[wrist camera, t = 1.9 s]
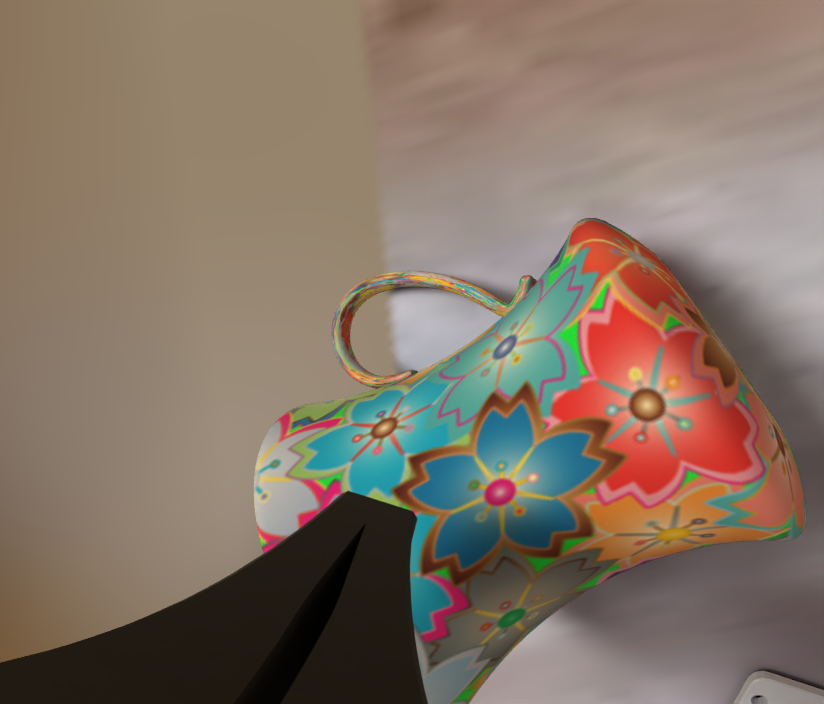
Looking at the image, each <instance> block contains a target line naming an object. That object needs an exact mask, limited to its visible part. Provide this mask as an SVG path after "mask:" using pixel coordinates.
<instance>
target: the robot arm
mask: <svg viewBox="0 0 824 704" xmlns="http://www.w3.org/2000/svg"><path fill="white" fill-rule="evenodd" d="M417 519H418V518H417V517H416V515H415V513H414V512H413V511H411V510H408V509H405V508H401V507H398V506H395V505H392V504H389V503H386V502H383V501H379V500H376V499H373V498H370V497H367V496H364V495H361V494H357V493H354V492H351V491H347V492H344V493H342V494H341V495H340V496H338V497H337V498H336V499H335V500H334V501H333V502H332V503H330V504H329V505H328V506H327V507H326V508H325V509H323V510H322V511H321V512H320V513H319V514H317V515H316V516H315V517H314V518H312V519H311V520H310V521H308V522H307V523H306V524H305V525H303V526H302V527H301V528H299V529H298V530H297V531H295V532H294V533H292V534H291V535H290V536H288V537H287V538H286V539H284V540H283V541H281V542H280V543H279V544H277V545H276V546H274V547H273V548H272V549H270V550H269V551H267V552H266V553H264V554H263V555H261V556H260V557H258V558H256V559H255V560H253V561H251V562H250V563H248V564H247V565H245V566H244V567H242V568H240V569H239V570H237V571H236V572H234V573H233V574H231V575H229V576H227V577H225V578H224V579H222V580H220V581H219V582H217V583H215V584H213V585H211V586H209V587H208V588H206V589H204V590H202V591H200V592H198V593H196V594H194V595H192V596H190V597H188V598H186V599H184V600H182V601H180V602H178V603H176V604H173V605H171V606H169V607H167V608H164V609H162V610H161V611H158V612H156V613H153V614H151V615H149V616H147V617H144V618H142V619H140V620H137V621H135V622H132V623H130V624H127V625H125V626H122V627H119V628H116V629H114V630H111V631H108V632H105V633H102V634H99V635H97V636H94V637H91V638H88V639H85V640H81V641H78V642H75V643H72V644H69V645H66V646H62V647H59V648H55V649H52V650H49V651H45V652H41V653H37V654H33V655H29V656H25V657H21V658H17V659H13V660H9V661H5V662H2V663H0V704H428V701H427V697H426V693H425V689H424V684H423V680H422V675H421V670H420V665H419V659H418V653H417V647H416V640H415V632H414V624H413V615H412V604H411V582H410V559H411V545H412V539H413V535H414V531H415V527H416V523H417ZM756 695H761V696H762V697H759V698H755V697H753V696H756ZM733 704H824V690H822V689H819V688H816V687H813V686H810V685H807V684H803V683H800V682H797V681H794V680H791V679H788V678H785V677H782V676H779V675H776V674H773V673H770V672H766V671H758V672H754V673H752V674H751V675H750V676H749V677H748V678H747V680H746V682H745V683H744V685H743V687H742V689H741V691H740V692H739V694H738V696H737V698H736V699H735V701H734V703H733Z"/></svg>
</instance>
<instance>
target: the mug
mask: <svg viewBox="0 0 824 704" xmlns="http://www.w3.org/2000/svg"><path fill="white" fill-rule="evenodd" d="M412 286H416V287H431V288H437V289H443V290H447V291H450V292H453V293H456V294H459V295H462V296H464V297H466V298H468V299H470V300H472V301H474V302H476V303H478V304H480V305H482V306H483V307H485V308H487V309H489V310H490V311H492V312H494V313H496V314H498V315H500V316H502V318H501V319H500V320H499V321H498V322H496V323H495V324H494V325H493V326H492V327H490V328H489V329H488V330H487V331H485V332H484V333H483V334H481V335H480V336H479V337H477V338H476V339H475V340H473V341H472V342H470V343H469V344H467V345H466V346H464V347H463V348H461V349H460V350H458V351H457V352H455V353H453V354H452V355H450V356H448V357H447V358H445V359H443V360H441V361H440V362H438V363H436V364H434V365H432V366H430V367H428V368H426V369H424V370H422V371H420V372H418V371H415V370H410V371H406V372H404V373H402V374H397V375H391V376H378V375H374V374H372V373H370V372H368V371H367V370H366V369H364V368H363V367H362V366H361V365H360V364H359V362H358V361H357V359H356V357H355V356H354V353H353V351H352V348H351V343H350V329H351V323H352V320H353V317H354V315H355V313H356V311H357V310H358V308H359V307H360V306H361V305H362V304H363V302H365V301H366V300H367V299H369V298H370V297H372V296H373V295H376V294H378V293H380V292H383V291H386V290H389V289H394V288H400V287H412ZM332 343H333V348H334V352H335V354H336V357H337V359H338V361H339V363H340V365H341V366H342V368H343V369H344V370H345V371H346V372H347V373H348V374H349V375H350V376H351V377H352V378H353V379H355V380H356V381H358V382H360V383H362V384H364V385H366V386H369V387H372V388H376V389H375V390H372V391H369V392H365V393H361V394H358V395H354V396H350V397H346V398H341V399H337V400H331V401H325V402H319V403H311V404H305V405H302V406H299V407H296V408H294V409H293V410H290V411H289V412H287V413H286V414H284V415H283V416H282V417H281V418H279V419H278V420H277V421H276V422H275V424H274V425H273V426H272V427H271V428H270V430H269V432H268V434H267V435H266V437H265V439H264V441H263V443H262V446H261V448H260V451H259V455H258V458H257V462H256V469H255V476H254V477H255V478H254V505H255V513H256V522H257V527H258V532H259V537H260V542H261V546H262V549H263V553H266V552H267V551H269V550H270V549H272V548H273V547H274V546H276V545H277V544H279V543H280V542H281V541H283V540H284V539H286V538H287V537H288V536H290V535H291V534H292V533H294V532H295V531H297V530H298V529H299V528H301V527H302V526H303V525H305V524H306V523H307V522H308V521H310V520H311V519H312V518H314V517H315V516H316V515H317V514H319V513H320V512H321V511H322V510H323V509H325V508H326V507H327V506H328V505H329V504H330V503H332V502H333V501H334V500H335V499H336V498H337V497H338V496H340V495H341V494H342V493H344V492H347V491H351V492H354V493H357V494H361V495H364V496H367V497H370V498H373V499H376V500H379V501H383V502H386V503H389V504H392V505H395V506H398V507H401V508H405V509H408V510H411V511H413V512H414V513H415V515H416V517H417V518H418V519H417V523H416V527H415V531H414V535H413V539H412V545H411V559H410V582H411V604H412V615H413V624H414V632H415V640H416V647H417V653H418V659H419V665H420V670H421V675H422V680H423V684H424V689H425V693H426V697H427V701H428V704H469V703H470V701H471V700H472V699H473V697H474V696H475V694H476V693H477V691H478V690H479V689H480V687H481V686H482V685H483V683H484V682H485V681H486V680H487V678H488V677H489V676H490V674H491V673H492V672H493V671H494V670H495V668H496V667H497V666H498V665H499V664H500V663H501V661H502V660H503V659H504V658H505V657H506V656H507V655H508V654H509V653H510V652H511V651H512V649H513V648H514V647H515V646H516V645H517V644H519V643H520V642H521V641H522V640H523V639H524V638H525V637H526V636H527V635H528V634H529V633H530V632H531V631H533V630H534V629H535V628H536V627H537V626H538V625H540V624H541V623H542V622H543V621H544V620H546V619H547V618H548V617H550V616H551V615H552V614H554V613H555V612H556V611H557V610H559V609H560V608H561V607H563V606H564V605H566V604H567V603H569V602H570V601H572V600H573V599H575V598H576V597H578V596H579V595H581V594H582V593H584V592H586V591H587V590H589V589H591V588H592V587H594V586H596V585H598V584H600V583H601V582H603V581H605V580H607V579H609V578H611V577H613V576H615V575H617V574H619V573H622V572H624V571H626V570H629V569H631V568H633V567H636V566H638V565H641V564H644V563H646V562H649V561H651V560H654V559H657V558H661V557H664V556H667V555H670V554H673V553H677V552H681V551H685V550H689V549H693V548H698V547H703V546H708V545H714V544H721V543H728V542H738V541H752V540H777V541H787V540H792V539H795V538H796V537H798V536H799V535H800V534H801V533H802V531H803V529H804V527H805V524H806V514H807V513H806V506H805V499H804V492H803V488H802V484H801V480H800V476H799V471H798V468H797V465H796V462H795V460H794V457H793V454H792V451H791V449H790V446H789V444H788V442H787V440H786V438H785V436H784V434H783V432H782V430H781V428H780V427H779V425H778V424H777V422H776V421H775V419H774V418H773V416H772V415H771V413H770V412H769V410H768V409H767V407H766V406H765V404H764V403H763V401H762V400H761V398H760V397H759V395H758V394H757V392H756V391H755V390H754V388H753V387H752V385H751V384H750V382H749V381H748V379H747V378H746V376H745V375H744V374H743V372H742V371H741V369H740V368H739V366H738V365H737V364H736V362H735V361H734V359H733V358H732V356H731V355H730V353H729V352H728V351H727V349H726V348H725V346H724V345H723V344H722V342H721V341H720V339H719V338H718V336H717V335H716V334H715V332H714V331H713V329H712V328H711V327H710V325H709V324H708V322H707V321H706V319H705V318H704V317H703V315H702V314H701V312H700V311H699V310H698V308H697V307H696V306H695V304H694V303H693V301H692V300H691V299H690V297H689V296H688V294H687V293H686V292H685V290H684V289H683V288H682V286H681V285H680V283H679V282H678V281H677V279H676V278H675V277H674V275H673V274H672V273H671V271H670V270H669V269H668V268H667V267H666V266H665V265H664V264H663V262H662V261H661V260H660V259H659V258H658V257H657V256H656V255H655V254H654V253H653V252H651V251H650V250H649V249H648V248H646V247H645V246H644V245H643V244H641V243H640V242H639V241H637V240H636V239H634V238H633V237H631V236H630V235H628V234H627V233H625V232H624V231H622V230H620V229H618V228H617V227H615V226H613V225H611V224H609V223H607V222H606V221H603V220H600V219H596V218H586V219H583V220H581V221H579V222H577V223H576V225H575V226H574V227H573V228H572V230H571V232H570V234H569V236H568V238H567V240H566V242H565V243H564V245H563V246H562V248H561V250H560V251H559V253H558V255H557V256H556V257H555V259H554V260H553V262H552V263H551V265H550V266H549V268H548V269H547V270H546V271H545V273H544V274H543V275H542V276H541V278H540V279H539V280H538V281H536V279H534V278H533V277H532V276H530V275H527V276H523V277H522V278H521V279H520V282H519V286H518V290H517V293H516V295H515V297H514V298H513V300H512V302H511V303H510V304H507V303H505V302H504V301H502V300H501V299H499V298H497V297H496V296H494V295H492V294H491V293H489V292H487V291H485V290H484V289H482V288H479V287H477V286H475V285H473V284H471V283H469V282H466V281H464V280H461V279H458V278H454V277H451V276H447V275H443V274H438V273H431V272H421V271H403V272H393V273H386V274H382V275H378V276H375V277H372V278H370V279H367V280H365V281H364V282H361V283H360V284H358V285H357V286H355V287H354V288H352V289H351V290H350V291H349V292H348V293H347V294H346V295H345V296H344V298H343V299H342V300H341V302H340V303H339V305H338V307H337V309H336V312H335V315H334V318H333V323H332Z"/></svg>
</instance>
